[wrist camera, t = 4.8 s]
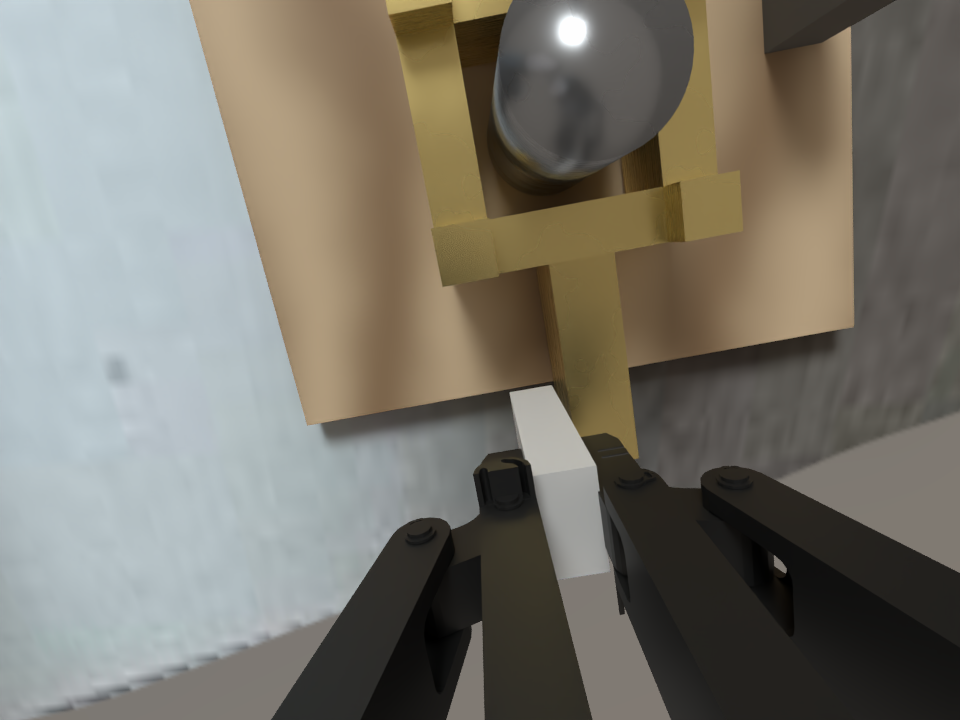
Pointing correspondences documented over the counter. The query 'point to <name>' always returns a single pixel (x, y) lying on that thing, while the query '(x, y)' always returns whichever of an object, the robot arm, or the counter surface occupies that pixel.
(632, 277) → the oak board
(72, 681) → the counter surface
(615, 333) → the handled square frame
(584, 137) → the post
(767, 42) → the block
